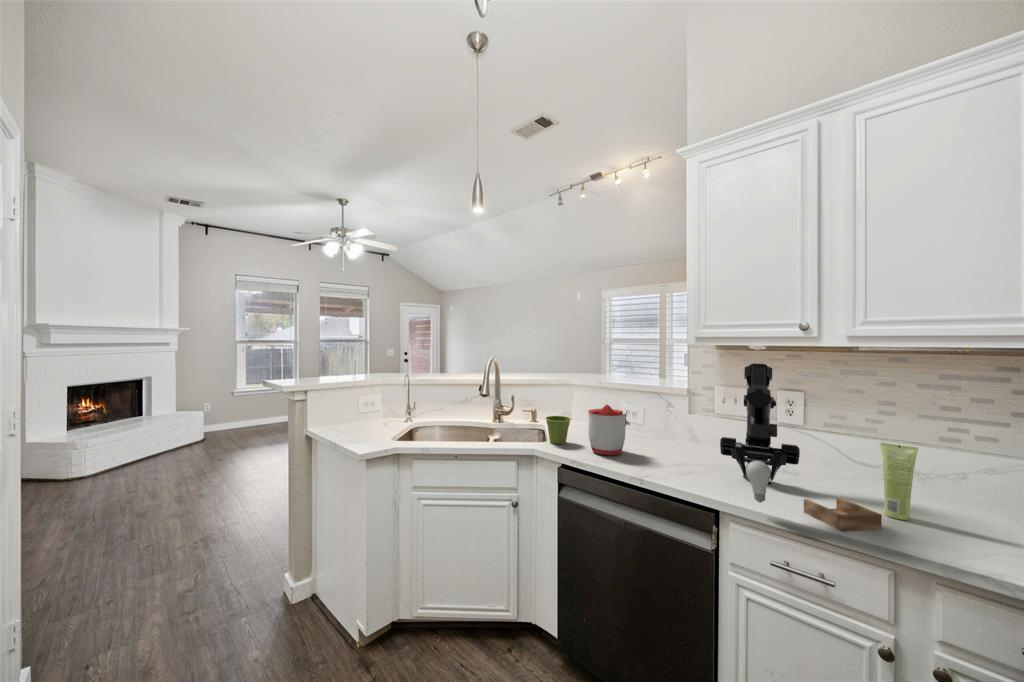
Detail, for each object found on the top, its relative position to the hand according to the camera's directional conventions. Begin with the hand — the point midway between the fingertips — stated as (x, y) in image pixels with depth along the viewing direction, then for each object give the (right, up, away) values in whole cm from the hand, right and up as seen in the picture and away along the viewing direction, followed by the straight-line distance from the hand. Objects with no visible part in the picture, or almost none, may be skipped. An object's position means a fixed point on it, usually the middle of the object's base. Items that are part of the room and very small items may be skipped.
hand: (758, 478), depth 111 cm
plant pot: (-44, -10, +79) cm, 91 cm away
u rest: (+22, -11, -1) cm, 24 cm away
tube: (+39, -11, +2) cm, 40 cm away
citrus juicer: (-25, -10, +64) cm, 69 cm away
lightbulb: (+1, -7, +1) cm, 7 cm away
